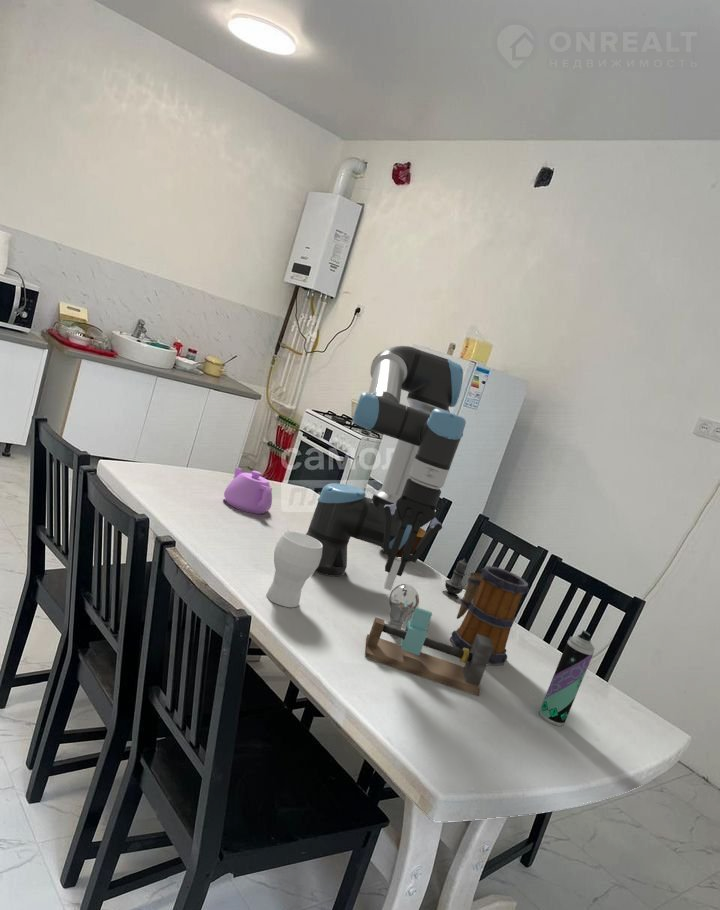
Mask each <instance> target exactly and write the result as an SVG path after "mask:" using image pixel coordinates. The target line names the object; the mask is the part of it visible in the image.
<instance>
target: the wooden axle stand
mask: <svg viewBox="0 0 720 910" xmlns="http://www.w3.org/2000/svg"><path fill="white" fill-rule="evenodd" d="M382 633H385V634H388V635H391V636H394V637H397V638H399V639H405V636H406V633H407V631H406V630H405V629H402V628H401V629H400V628H397V627H394V626H391V625H388V623H386V622H385V619H383V618H380V617H377V616H375V618H374V620H373V623H372V626H371V629H370V632H369V634H368V633H367V635H366V637H365V649H364V658H365V659H368V660H371V661H375V662H376V663H377V662H378V663H381V664H384V665H387V666H390V667H393V668H395V669H398V670H401V671H404V672H407V673H410V674H414V675H416V676H419V677H421V678H424V679H427V680H431V681H433V682H436V683H439V684H443V685H446V686H449V687H451V688H454V689H457V690H459V691H463V692H466V693H469V694H471V695H474V696H477V697H479V696H480V693H481V690H480V687H479V686H480V684H481V681H482V679H483V676H484V674H485V671H486V668H487V666H488V665H487V663H488V661H489V658H490V656H491V653H492V651H493V645H492V642H491V640H490V638H487V637H485V636H482V635H479V634H477V635H476V638H475V640H474V643H473V645H472V648H471V650H470V652H469V649H467V648H463V649H462V650H461V649H458V648H455V647H453V645H449V644H447V643H444V642H440V641H438V640H435V639H433V638H432V639H431V638H429V637H426V639H425V641H424V644H423V647H426V648H429V649H432V650H435V651H438V652H440V653H443V654H447V655H449V656H452V657H456V658H458V659H459V662H461V663H464V666H463V665H460V664H457V663H453V662H451V661H449V660H444V659H443V658H442V659H441V658H439V657H436V656H433V655H431V654H427V653H425V652H422V651H421V652H420V655H416V654H413V653H410V652H407V651H404V650H401V644H398V643H396V642H393V641H391V640H390V641H389V640H387V639H383V638H381V635H382Z"/></svg>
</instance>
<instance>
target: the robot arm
mask: <svg viewBox="0 0 720 910" xmlns="http://www.w3.org/2000/svg"><path fill="white" fill-rule="evenodd" d="M369 371H370V377H371V382H370V387H369V390H368V392H362V393H360V396H359V398H358V401H357V405H356V407H355V410H354V413H353V416H352V422H353V424H355V425H356V426H359V427H361V428H364V429H365V430H367V431H372V432H374V433H377V434H381V435H384V436H387V437H391V438H393V439H397V442H396V444H395V448H394V452H393V454H392V456H391V459H390V463H389V466H388V469H387V471H386V474H385V477H384V479H383V480H384V481H383V482H382V485H381V488H380V489H378V490H376V491H374V492H373V493H372V494H373V495H372V497H371V498H369V497H367V496H366V491H365V490H364V489H362V488H358V487H357V486H354V485H349V484H344V483H336V482H335V483H328V484H326V485H324V486H323V488H322V490H321V491H320V492H321V493H320V495H319V497H318V498H317V503H316V506H315V509H314V511H313V515H312V517H311V520H310V523H309V527H308V530H307V532H306V533H305V534H306V535H308V536H311V537H313V538H315V539H317V540H318V541H320V542H321V543H322V545H323V549H322V557H321V560H320V563H319V566H318V567H317V569H316V570H315V572H314V573H317V574H321V575H324V576H331V577H338V576H339V577H340V576H343V575H345V573H346V570H347V566H348V545H349V542H350V539H351V538H354V539H356V540H358V541H359V540H360V541H363V542H366V543H368V544H372V545H375V546H377V547H380V548H381V549H382V552H383V553H385V554H387V556H388V557H387V560H386V563H385V567H384V571H385V572H387V575H386V578H385V581H384V584H383V589H385V590H387V591H388V590H389V591H392V590H393V586H394V583H395V580H396V577H397V576H399V577H401V576H403V573H404V570H405V568H406V565H407V564H408V563H416V562H417V561H418V560H419V558H420V556H421V555H422V553H423V552H424V551H425V549H426V548H427V546H428V545H429V543H430V542H431V540H432V539H433V537H434V536H435V535H436V534H437V533H438V532H440V531H441V530H442V529H443V525H442V523H441V521H439V520H438V519H437V518H436V508H437V505H438V503H439V502H438V501H439V499H440V497H441V494H442V490H441V488H443V487H444V486H445V483H446V479H447V477H448V475H449V472H450V469H451V466H452V463H453V460H454V457H455V455H456V453H457V449H458V448H459V445H460V442H461V439H462V438H463V436H464V430H465V428H466V423H467V422H466V421H467V420H466V419H465V417H463V416H460V415H458V414H455V413H452V412H449V408H454V407H456V405H457V403H458V400H459V398H460V394H461V391H462V386H463V379H464V369H463V367H462V366H461V364H459V363H457V362H455V361H453V360H451V359H448V358H445V357H442V356H439V355H435V354H432V353H430V352H428V351H424V350H420V349H418V348H416V347H412V346H408V345H407V346H406V345H398V346H392V347H391V346H390V347H389V348H385V349H383V350H382V351H380V352H379V353H378V354H377V355H376V356H375V357H374V358H373V360H372V362H371V365H370V370H369ZM402 391H405V392H407V393H408V394H407V396H406V400H407V403H408V405H409V406H408V405H404V404H403V403H400V402H401V396H402V395H401V394H402ZM428 523H429V528H428V529H427V530H426V533H425V535H424V536H423V538H422V539H421V541H420V542H419V544H418V545H417V547H416V548H415V550H414V551H413V553H412V554H410V552H411V550H412V547H413V544H414V541H415V538H416V536H417V533H418V531H419V528H422V527H423V526H426V525H427V524H428ZM407 539H408V540H407ZM406 541H407V542H406ZM405 542H406V545H405V548H404V551H403V554H402V557H401V558H398V557H396V555H397V552H398V550H399V549H400V548H401V547H402V546H403V545H404V544H405Z"/></svg>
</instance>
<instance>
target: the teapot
mask: <svg viewBox="0 0 720 910" xmlns="http://www.w3.org/2000/svg"><path fill="white" fill-rule="evenodd" d="M272 491H273V488H272V487H271V485H270V482H269V480H268V479H266V478H265V477H263V476H262V472H260V471H257V470H251V472H242V468H240V467H235V472H234V475H233V479H232V481H230V482H229V484H228V485H227V486H226V488H225V490H224V494H223V496H224V499H225V500H226V504H228V505H229V506H231V507H233V508H235V509H237V510H240V511H242V512H246V513H250V514H255V515H256V514H257V515H259V514H260V515H261V514H265V513H266V512H268V511H269V510H270V509H271V508H272V503H273V493H272Z"/></svg>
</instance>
